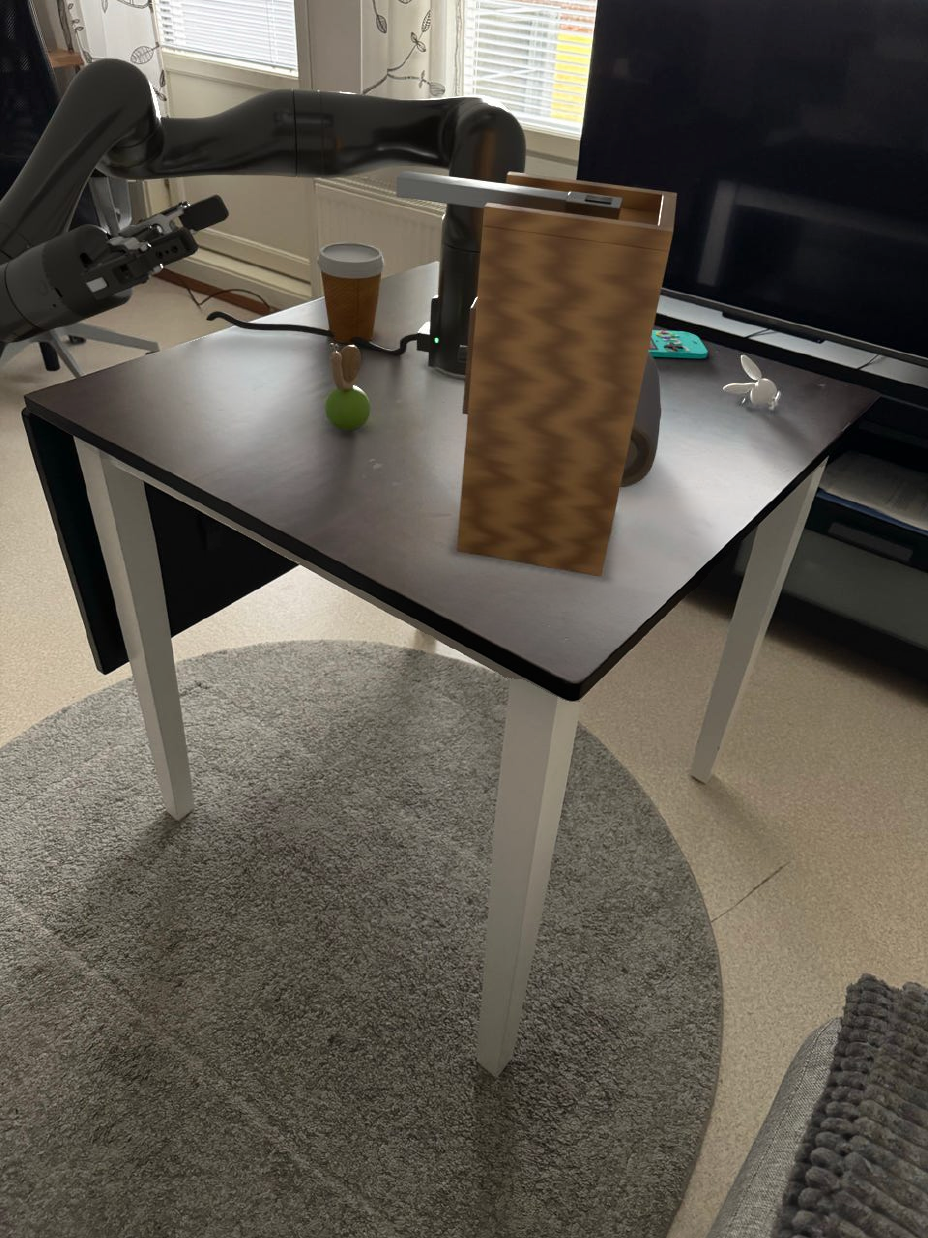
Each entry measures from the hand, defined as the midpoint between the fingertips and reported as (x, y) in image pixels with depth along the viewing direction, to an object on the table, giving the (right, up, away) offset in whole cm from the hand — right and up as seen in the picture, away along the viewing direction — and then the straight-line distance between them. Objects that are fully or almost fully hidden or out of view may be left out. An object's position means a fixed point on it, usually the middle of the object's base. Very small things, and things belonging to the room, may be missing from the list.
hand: (208, 221), depth 83 cm
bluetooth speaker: (+42, -15, +30) cm, 54 cm away
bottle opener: (+28, -1, -5) cm, 28 cm away
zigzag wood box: (+31, -27, +15) cm, 43 cm away
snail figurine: (+9, -13, +30) cm, 33 cm away
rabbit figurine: (+62, -6, +44) cm, 76 cm away
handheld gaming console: (+52, +6, +57) cm, 77 cm away
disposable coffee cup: (+7, +6, +52) cm, 53 cm away
